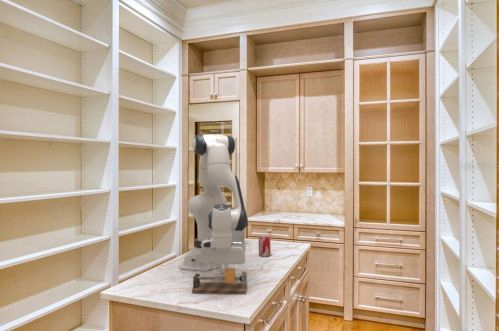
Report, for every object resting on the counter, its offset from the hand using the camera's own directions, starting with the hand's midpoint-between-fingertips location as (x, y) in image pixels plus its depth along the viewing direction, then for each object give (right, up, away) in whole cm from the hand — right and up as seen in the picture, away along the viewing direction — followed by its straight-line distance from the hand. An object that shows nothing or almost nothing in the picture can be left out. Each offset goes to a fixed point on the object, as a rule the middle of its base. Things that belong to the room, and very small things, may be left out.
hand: (222, 273), depth 144 cm
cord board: (-1, -7, 0) cm, 7 cm away
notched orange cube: (+3, -3, 0) cm, 5 cm away
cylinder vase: (+2, -7, +74) cm, 75 cm away
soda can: (+21, -7, +52) cm, 56 cm away
